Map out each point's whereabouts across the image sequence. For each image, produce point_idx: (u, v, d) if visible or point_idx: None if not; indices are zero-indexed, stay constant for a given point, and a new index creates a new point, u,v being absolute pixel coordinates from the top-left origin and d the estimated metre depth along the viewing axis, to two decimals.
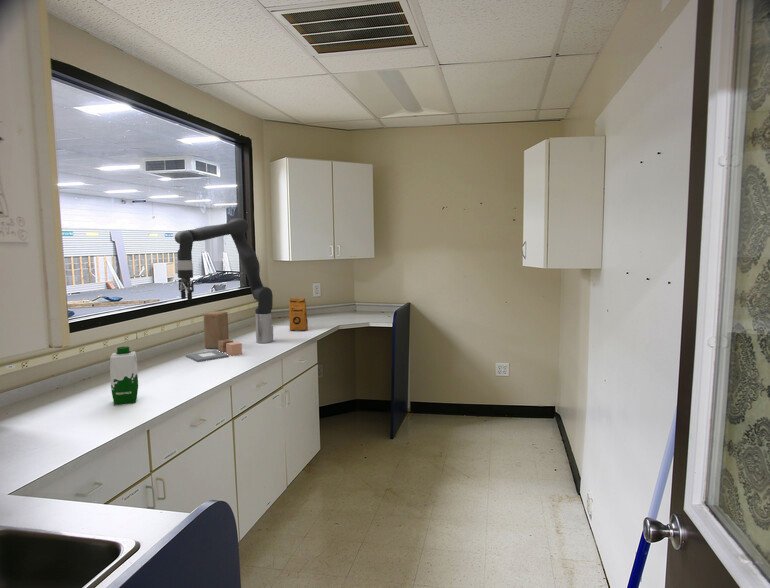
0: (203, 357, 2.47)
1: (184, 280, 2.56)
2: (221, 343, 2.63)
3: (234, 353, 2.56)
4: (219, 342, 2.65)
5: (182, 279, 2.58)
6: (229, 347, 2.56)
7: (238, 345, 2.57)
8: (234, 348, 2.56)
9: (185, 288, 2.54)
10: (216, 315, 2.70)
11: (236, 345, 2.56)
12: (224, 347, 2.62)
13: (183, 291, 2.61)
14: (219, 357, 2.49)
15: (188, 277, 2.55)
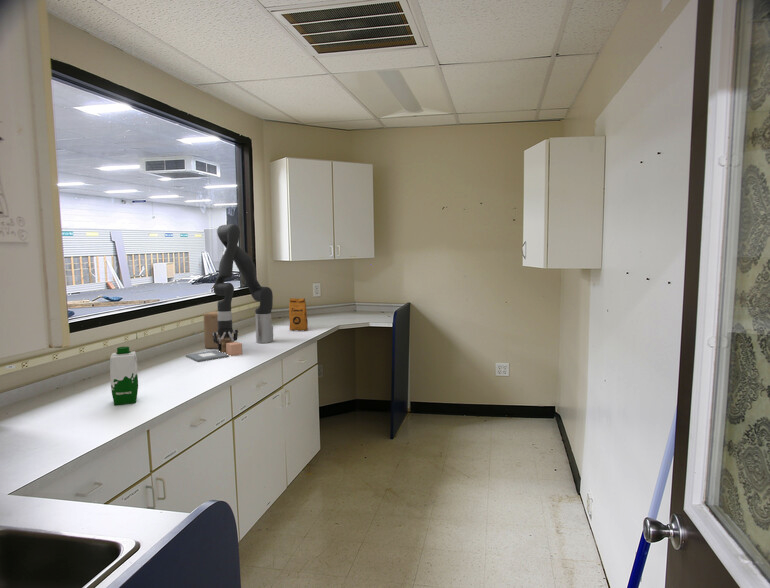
0: (203, 357, 2.47)
1: (228, 330, 2.65)
2: (221, 343, 2.63)
3: (234, 353, 2.56)
4: None
5: (223, 329, 2.63)
6: (229, 347, 2.56)
7: (238, 345, 2.57)
8: (234, 348, 2.56)
9: (232, 337, 2.66)
10: (216, 315, 2.70)
11: (236, 345, 2.56)
12: (224, 347, 2.62)
13: None
14: (219, 357, 2.49)
15: None
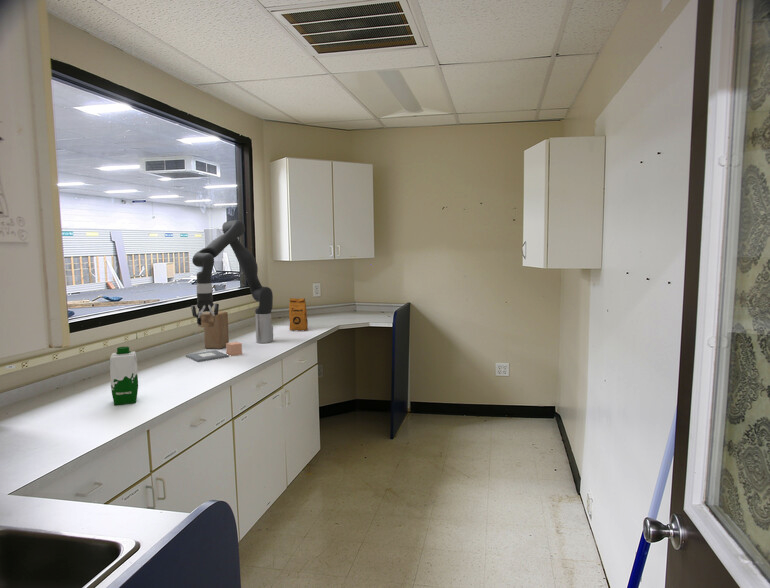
0: (203, 357, 2.47)
1: (208, 303, 2.50)
2: (200, 317, 2.48)
3: (234, 353, 2.56)
4: None
5: (202, 303, 2.49)
6: (229, 347, 2.56)
7: (238, 345, 2.57)
8: (234, 348, 2.56)
9: (212, 311, 2.52)
10: (216, 315, 2.70)
11: (236, 345, 2.56)
12: (204, 321, 2.48)
13: None
14: (219, 357, 2.49)
15: None
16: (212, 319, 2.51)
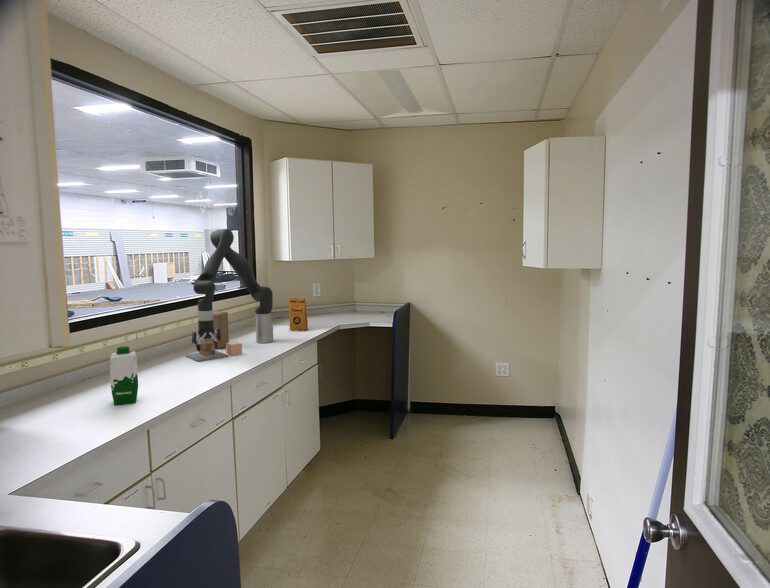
0: (203, 357, 2.47)
1: (209, 330, 2.52)
2: (202, 346, 2.50)
3: (234, 353, 2.56)
4: (200, 345, 2.52)
5: (204, 330, 2.50)
6: (229, 347, 2.56)
7: (238, 345, 2.57)
8: (234, 348, 2.56)
9: (214, 337, 2.53)
10: (216, 315, 2.70)
11: (236, 345, 2.56)
12: (205, 350, 2.49)
13: None
14: (219, 357, 2.49)
15: None
16: (213, 348, 2.52)
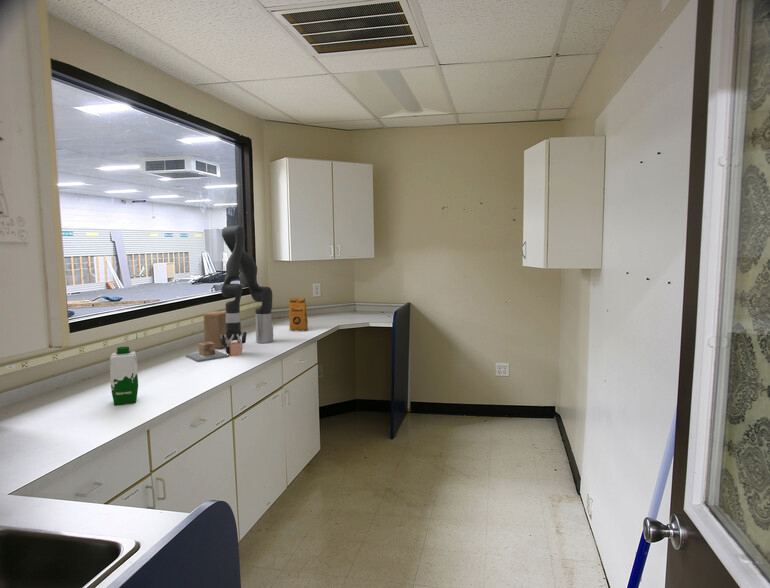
0: (203, 357, 2.47)
1: (236, 332, 2.58)
2: (202, 346, 2.50)
3: (234, 353, 2.56)
4: (200, 345, 2.52)
5: (231, 332, 2.56)
6: None
7: (238, 345, 2.57)
8: (234, 348, 2.56)
9: (240, 340, 2.59)
10: (216, 315, 2.70)
11: (236, 345, 2.56)
12: (205, 350, 2.49)
13: None
14: (219, 357, 2.49)
15: None
16: (213, 348, 2.52)
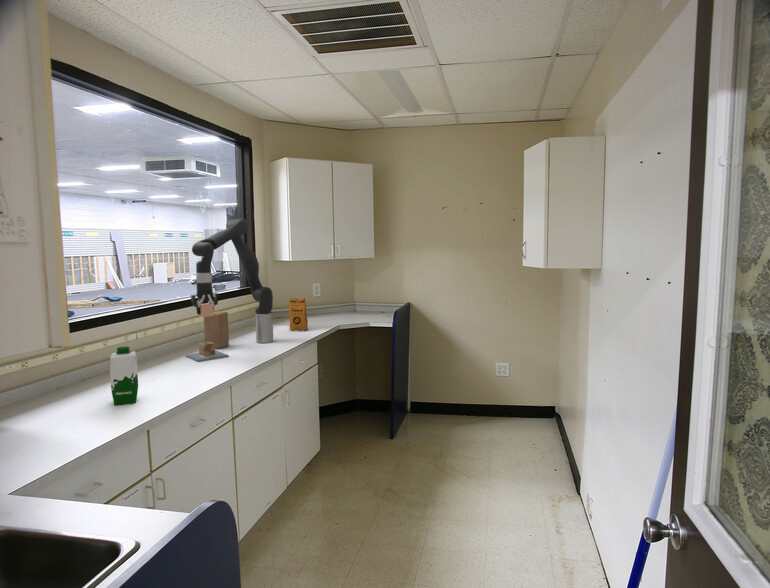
0: (203, 357, 2.47)
1: (207, 293, 2.50)
2: (202, 346, 2.50)
3: (205, 314, 2.48)
4: (200, 345, 2.52)
5: (202, 292, 2.48)
6: (200, 308, 2.48)
7: (209, 306, 2.49)
8: (205, 309, 2.48)
9: (212, 301, 2.51)
10: (216, 315, 2.70)
11: (207, 306, 2.48)
12: (205, 350, 2.49)
13: None
14: (219, 357, 2.49)
15: None
16: (213, 348, 2.52)
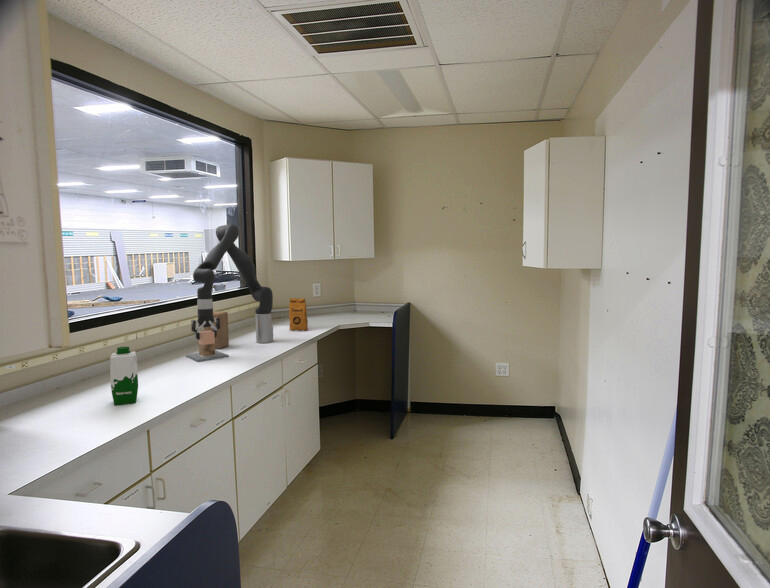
0: (203, 357, 2.47)
1: (208, 319, 2.51)
2: (202, 346, 2.50)
3: (206, 342, 2.49)
4: (200, 345, 2.52)
5: (203, 318, 2.49)
6: (201, 336, 2.49)
7: (210, 334, 2.51)
8: (206, 337, 2.49)
9: (214, 326, 2.53)
10: (216, 315, 2.70)
11: (208, 334, 2.50)
12: (205, 350, 2.49)
13: None
14: (219, 357, 2.49)
15: None
16: (213, 348, 2.52)
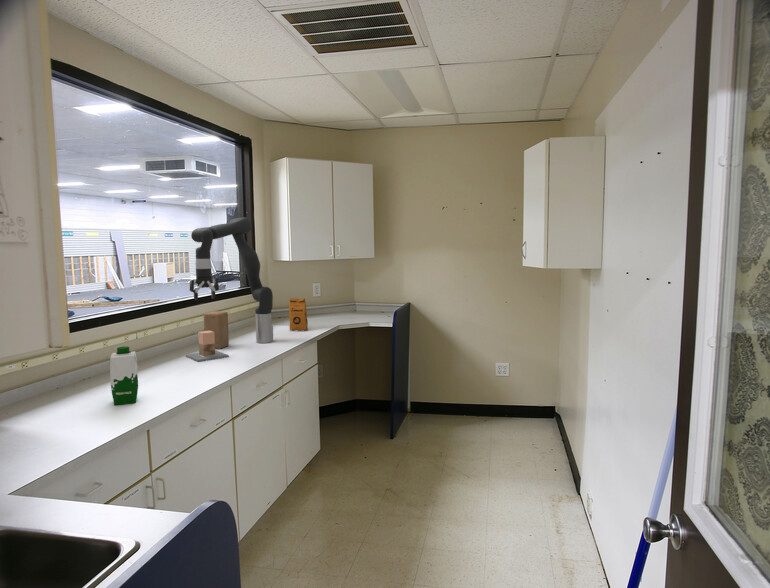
0: (203, 357, 2.47)
1: (207, 279, 2.49)
2: (202, 346, 2.50)
3: (206, 342, 2.49)
4: (200, 345, 2.52)
5: (201, 278, 2.47)
6: (201, 336, 2.49)
7: (210, 334, 2.51)
8: (206, 337, 2.49)
9: (212, 287, 2.51)
10: (216, 315, 2.70)
11: (208, 334, 2.50)
12: (205, 350, 2.49)
13: None
14: (219, 357, 2.49)
15: None
16: (213, 348, 2.52)
